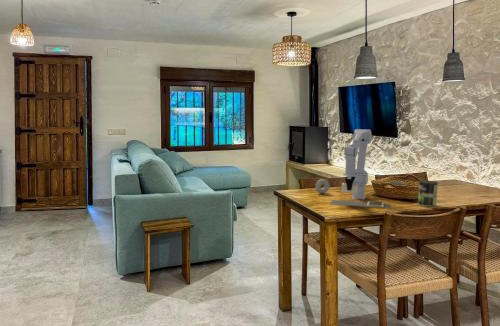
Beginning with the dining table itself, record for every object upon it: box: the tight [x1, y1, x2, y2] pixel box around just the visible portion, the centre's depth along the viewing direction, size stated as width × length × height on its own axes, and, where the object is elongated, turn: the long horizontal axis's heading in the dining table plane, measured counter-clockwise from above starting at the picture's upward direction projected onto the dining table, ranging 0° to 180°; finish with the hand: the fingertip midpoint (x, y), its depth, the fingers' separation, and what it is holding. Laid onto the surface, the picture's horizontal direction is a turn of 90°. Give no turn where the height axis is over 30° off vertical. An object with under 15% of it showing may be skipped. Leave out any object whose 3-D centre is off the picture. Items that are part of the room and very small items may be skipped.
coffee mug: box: [388, 180, 406, 186], centre depth 274 cm, size 13×10×10 cm
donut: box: [315, 178, 330, 195], centre depth 284 cm, size 10×4×10 cm, turn 107°
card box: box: [341, 182, 358, 194], centre depth 251 cm, size 9×5×5 cm, turn 73°
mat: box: [330, 199, 392, 210], centre depth 251 cm, size 13×34×1 cm, turn 73°
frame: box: [366, 200, 384, 209], centre depth 248 cm, size 13×9×1 cm
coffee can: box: [417, 179, 439, 207], centre depth 252 cm, size 10×10×14 cm
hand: (349, 189), depth 252 cm, fingers closed on card box, 5 cm apart
